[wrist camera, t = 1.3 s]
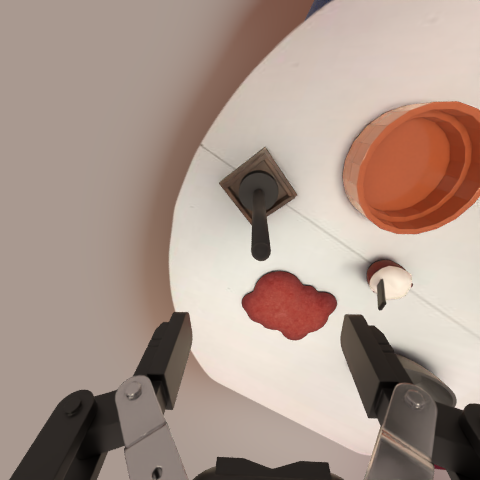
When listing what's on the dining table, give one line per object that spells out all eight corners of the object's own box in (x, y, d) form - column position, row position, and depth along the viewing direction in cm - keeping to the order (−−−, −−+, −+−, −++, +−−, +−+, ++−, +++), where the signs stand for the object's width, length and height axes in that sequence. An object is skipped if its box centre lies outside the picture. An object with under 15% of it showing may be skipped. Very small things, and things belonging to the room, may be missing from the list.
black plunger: (231, 185, 40) (208, 248, 20) (262, 161, 38) (271, 205, 18) (253, 214, 41) (252, 298, 22) (284, 193, 40) (313, 263, 20)
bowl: (372, 330, 52) (386, 355, 46) (451, 368, 55) (473, 396, 49) (336, 364, 57) (345, 391, 51) (410, 397, 60) (426, 425, 54)
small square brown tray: (219, 182, 40) (217, 186, 38) (265, 146, 38) (265, 148, 35) (252, 224, 43) (251, 230, 41) (296, 193, 40) (299, 198, 38)
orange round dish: (322, 155, 38) (334, 161, 32) (434, 76, 33) (473, 66, 27) (370, 236, 43) (388, 254, 37) (473, 178, 38) (513, 188, 32)
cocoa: (408, 270, 45) (457, 317, 34) (381, 292, 48) (418, 342, 37) (373, 241, 43) (412, 281, 32) (346, 265, 46) (374, 310, 35)
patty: (344, 300, 49) (348, 307, 47) (302, 343, 54) (304, 350, 53) (270, 260, 46) (270, 265, 44) (233, 309, 51) (232, 316, 50)
